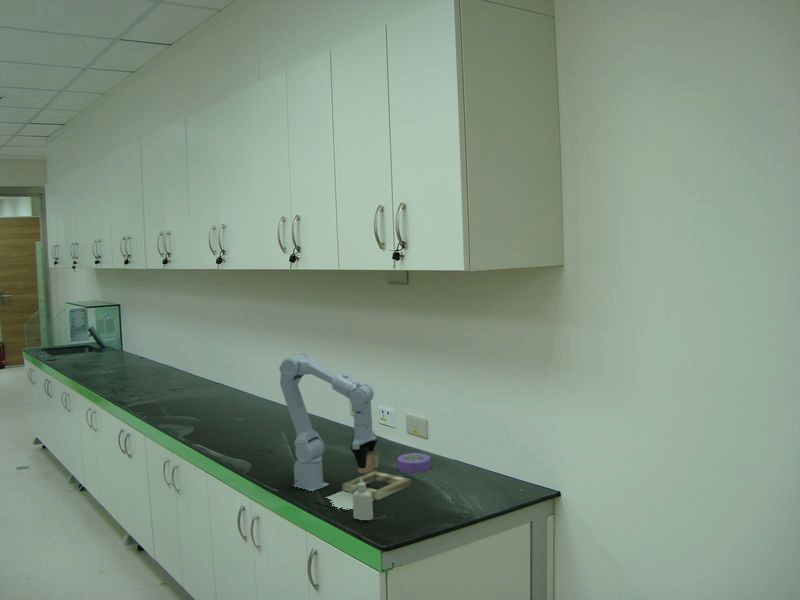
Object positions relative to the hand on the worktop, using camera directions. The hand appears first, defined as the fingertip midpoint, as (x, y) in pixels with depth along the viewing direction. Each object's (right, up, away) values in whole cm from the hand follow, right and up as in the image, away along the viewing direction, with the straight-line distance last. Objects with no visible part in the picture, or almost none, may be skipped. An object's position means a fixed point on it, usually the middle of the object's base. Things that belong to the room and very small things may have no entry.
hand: (365, 465), depth 225 cm
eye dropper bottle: (+1, -11, -22) cm, 25 cm away
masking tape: (+16, -7, +24) cm, 29 cm away
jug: (0, -2, 0) cm, 2 cm away
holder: (+4, -8, +4) cm, 10 cm away
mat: (-6, -10, -7) cm, 13 cm away
